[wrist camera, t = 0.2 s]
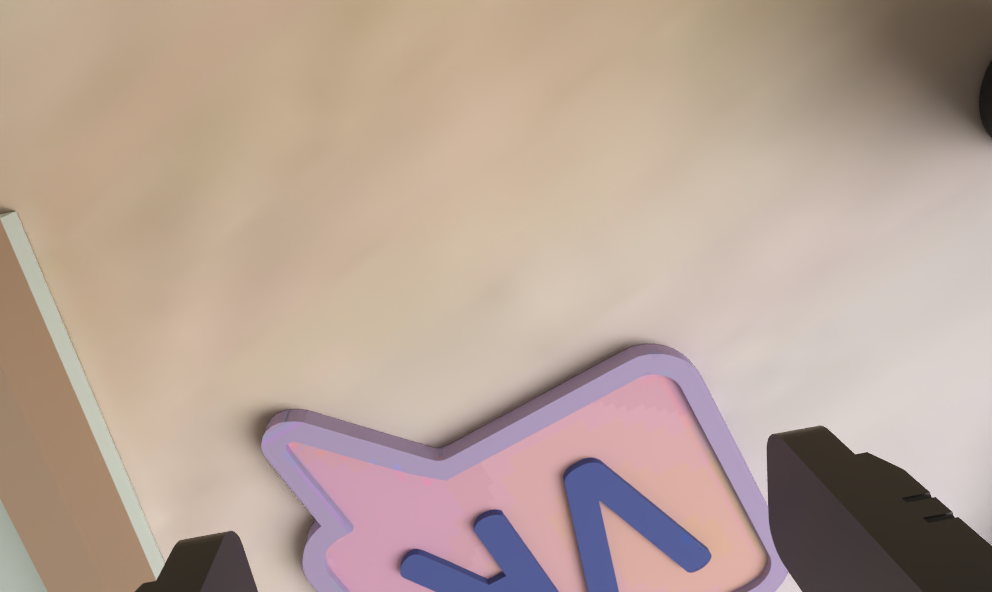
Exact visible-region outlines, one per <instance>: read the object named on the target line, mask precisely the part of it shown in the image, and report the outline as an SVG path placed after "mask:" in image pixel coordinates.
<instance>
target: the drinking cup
mask: <svg viewBox="0 0 992 592" xmlns="http://www.w3.org/2000/svg"><path fill="white" fill-rule="evenodd" d="M980 113H981V118H982V121H983V124H984V126H985V128H986V129H987V131H988V133H989V134H990V135H991V136H992V62H991V64H990V66H989V68H988V69H987V72H986V74H985V77H984V80H983V83H982V87H981V92H980Z"/></svg>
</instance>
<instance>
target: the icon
mask: <svg viewBox="0 0 992 592" xmlns="http://www.w3.org/2000/svg"><path fill="white" fill-rule="evenodd" d="M261 450H262V452H263V455H264V456H265V458H266V459H267V460H268V461H269V463H270V464H271V465H272V466H273V468H274V469H275V470H276V471H277V472H278V474H279V475H280V476H281V477H282V479H283V480H284V481H285V482H286V483H287V485H288V486H289V487H290V488H291V490H292V491H293V492H294V493H295V495H296V496H297V497H298V498H299V499H300V501H301V502H302V503H303V504H304V506H305V507H306V508H307V509H308V510H309V512H310V513H311V514H312V515H313V517H314V518H315V519H316V521H315V522H314V523H313V525H312V526H311V528H310V530H309V533H308V536H307V540H306V544H305V549H304V553H303V560H302V564H303V571H304V574H305V576H306V578H307V580H308V581H309V583H310V584H311V585H312V586H313V587H314V589H315V590H316V591H317V592H775V591H776V590H777V589H778V588H779V586H780V585H781V584H782V583H783V581H784V580H785V578H786V576H787V574H788V570H787V569H786V567H785V566H784V564H783V563H782V561H781V559H780V557H779V555H778V553H777V551H776V548H775V546H774V543H773V539H772V536H771V532H770V526H769V514H768V506H767V504H766V502H765V500H764V498H763V496H762V494H761V492H760V490H759V488H758V486H757V484H756V482H755V480H754V478H753V476H752V474H751V472H750V470H749V468H748V466H747V464H746V462H745V460H744V458H743V456H742V454H741V453H740V451H739V449H738V447H737V445H736V443H735V441H734V439H733V437H732V435H731V433H730V431H729V429H728V427H727V425H726V423H725V421H724V419H723V417H722V415H721V413H720V411H719V409H718V407H717V405H716V403H715V401H714V399H713V398H712V396H711V394H710V392H709V390H708V388H707V386H706V384H705V382H704V380H703V378H702V376H701V375H700V373H699V372H698V370H697V369H696V368H695V366H694V365H693V364H692V363H691V361H690V360H689V359H688V358H687V357H685V356H684V355H683V354H682V353H680V352H678V351H677V350H675V349H673V348H670V347H667V346H663V345H657V344H642V345H637V346H632V347H630V348H628V349H626V350H623V351H621V352H619V353H618V354H616V355H614V356H612V357H610V358H608V359H606V360H605V361H603V362H601V363H599V364H597V365H595V366H593V367H592V368H590V369H588V370H586V371H584V372H582V373H581V374H579V375H577V376H575V377H573V378H571V379H569V380H568V381H566V382H564V383H562V384H560V385H558V386H557V387H555V388H553V389H551V390H549V391H547V392H545V393H544V394H542V395H540V396H538V397H536V398H534V399H533V400H531V401H529V402H527V403H525V404H523V405H522V406H520V407H518V408H516V409H514V410H512V411H510V412H509V413H507V414H505V415H503V416H501V417H499V418H498V419H496V420H494V421H492V422H490V423H488V424H486V425H485V426H483V427H481V428H479V429H477V430H475V431H474V432H472V433H470V434H468V435H466V436H464V437H462V438H461V439H459V440H457V441H455V442H453V443H451V444H449V445H448V446H445V447H442V448H434V447H430V446H426V445H423V444H420V443H416V442H413V441H410V440H406V439H403V438H400V437H396V436H393V435H389V434H386V433H383V432H379V431H376V430H373V429H369V428H366V427H363V426H359V425H356V424H353V423H349V422H346V421H342V420H339V419H336V418H332V417H329V416H326V415H322V414H319V413H316V412H312V411H309V410H302V409H290V410H285V411H282V412H280V413H277V414H276V415H275V416H274V417H272V418H271V420H270V421H269V423H268V425H267V428H266V430H265V433H264V435H263V438H262V441H261Z"/></svg>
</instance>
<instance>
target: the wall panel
mask: <svg viewBox="0 0 992 592" xmlns="http://www.w3.org/2000/svg"><path fill="white" fill-rule="evenodd" d="M164 565H165V564H164V561H163V559H162V557H161V554H160V552H159V549H158V547H157V545H156V542H155V540H154V538H153V535H152V533H151V530H150V528H149V526H148V523H147V521H146V519H145V516H144V514H143V511H142V509H141V507H140V504H139V502H138V500H137V497H136V495H135V492H134V490H133V488H132V485H131V483H130V481H129V478H128V476H127V473H126V471H125V469H124V466H123V464H122V462H121V459H120V457H119V455H118V452H117V450H116V447H115V445H114V443H113V440H112V438H111V436H110V433H109V431H108V428H107V426H106V424H105V421H104V419H103V417H102V414H101V412H100V409H99V407H98V405H97V402H96V400H95V398H94V395H93V393H92V390H91V388H90V386H89V383H88V381H87V379H86V376H85V374H84V371H83V369H82V367H81V364H80V362H79V360H78V357H77V355H76V353H75V350H74V348H73V345H72V343H71V341H70V338H69V336H68V334H67V331H66V329H65V326H64V324H63V322H62V319H61V317H60V315H59V312H58V310H57V307H56V305H55V303H54V300H53V298H52V296H51V293H50V291H49V288H48V286H47V284H46V281H45V279H44V277H43V274H42V272H41V269H40V267H39V265H38V262H37V260H36V258H35V255H34V253H33V250H32V248H31V246H30V243H29V241H28V239H27V236H26V234H25V232H24V229H23V227H22V224H21V222H20V220H19V217H18V215H17V213H16V211H15V212H9V213H3V214H0V592H135V591H136V590H137V589H138V588H139V587H140V586H141V585H142V584H143V583H147V582H152V581H156V580H157V578H158V576H159V574H160V572H161V570H162V568H163V567H164Z"/></svg>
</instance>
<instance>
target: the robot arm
mask: <svg viewBox="0 0 992 592" xmlns="http://www.w3.org/2000/svg"><path fill="white" fill-rule="evenodd" d="M767 477H768V514H769V526H770V532H771V536H772V539H773V543H774V546H775V548H776V551H777V553H778V555H779V557H780V559H781V561H782V563H783V564H784V566H785V567H786V569H787V570H788V572H789V573H790V574H791V576H792V577H793V579H794V580H795V582H796V583H797V585H798V586H799V587H800V589H801V590H802V592H992V546H991V545H990V544H989V543H987V542H986V541H985V540H984V539H983V538H982V537H981V536H979V535H978V534H977V533H976V532H975V531H974V530H973V529H971V528H970V527H969V526H968V525H967V524H966V523H964V522H963V521H962V520H961V519H960V518H959V517H957V518H955V517H954V516H953V512H952V511H951V510H950V509H948V508H947V507H946V506H945V505H944V504H943V503H941V502H940V501H939V500H938V499H937V498H936V497H934V498H932V497H931V495H930V492H929V491H928V490H927V489H925V488H924V487H923V486H922V485H921V484H920V483H919V482H917V481H916V480H915V479H914V478H913V477H912V476H910V475H909V474H908V473H907V472H906V471H905V470H904V469H902V468H899V467H897V466H895V465H893V464H891V463H889V462H887V461H885V460H882V459H880V458H878V457H876V456H874V455H872V454H870V453H868V452H866V453H861V454H856V455H855V454H854V453H853V452H852V451H851V450H850V449H849V448H848V447H846V446H845V445H844V444H843V443H842V442H841V441H840V440H839V439H838V438H837V437H836V436H835V435H834V434H833V433H831V432H830V431H829V430H828V429H827V428H825V427H823V426H816V427H810V428H805V429H799V430H794V431H788V432H783V433H777V434H772V435H771V436H770V437H769V438H768V442H767ZM135 592H258V591H257V587H256V584H255V581H254V578H253V575H252V572H251V569H250V566H249V563H248V560H247V557H246V554H245V551H244V548H243V545H242V542H241V540H240V538H239V536H238V535H237V534H236V533H235V532H233V531H228V532H223V533H217V534H212V535H206V536H201V537H195V538H190V539H184V540H180V541H178V542H177V543H176V545H175V546H174V548H173V550H172V552H171V553H170V555H169V557H168V559H167V561H166V563H165V565H164V567H163V568H162V570H161V572H160V574H159V576H158V578H157V580H156V581H152V582H147V583H143V584H142V585H141V586H140V587H139V588H138V589H137V590H136V591H135Z"/></svg>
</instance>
